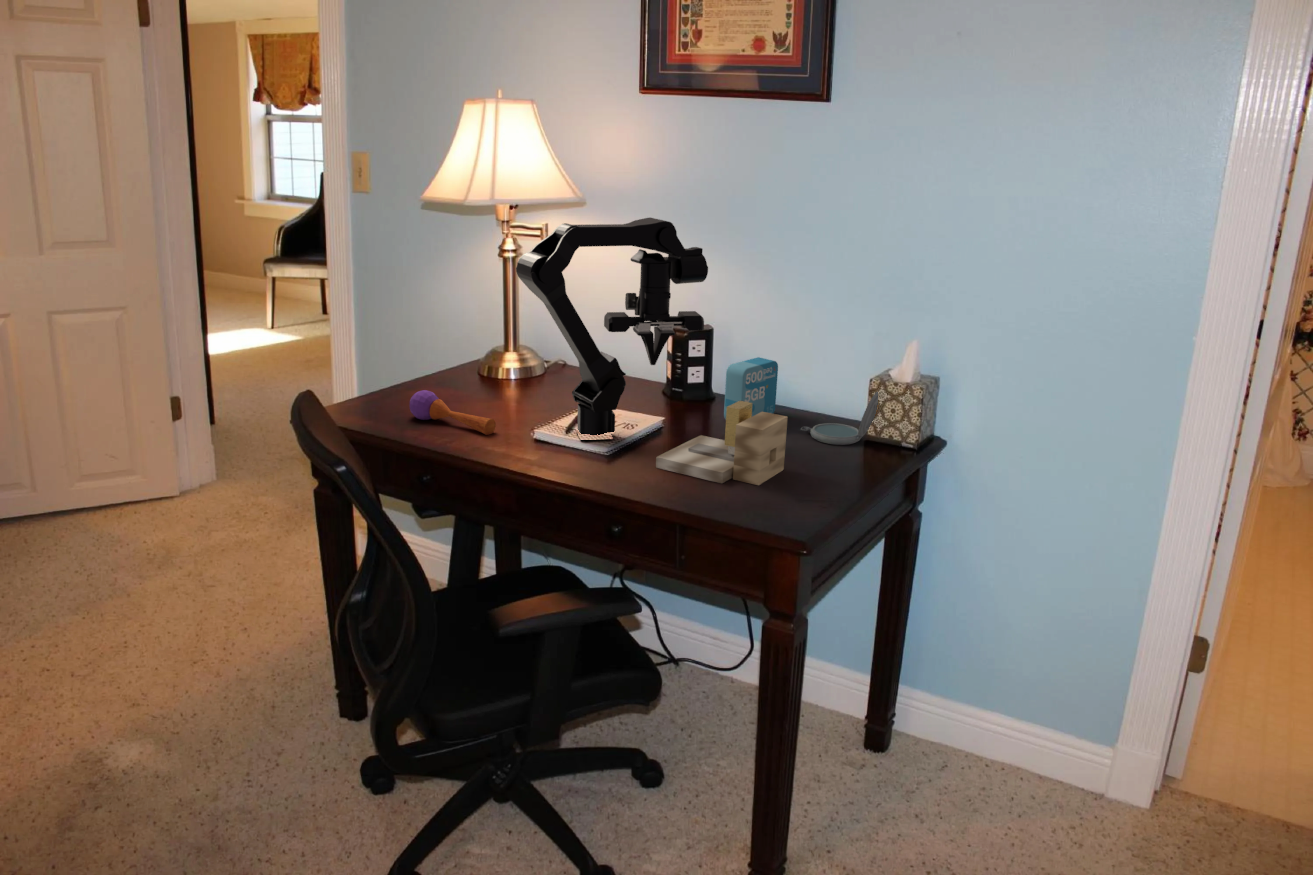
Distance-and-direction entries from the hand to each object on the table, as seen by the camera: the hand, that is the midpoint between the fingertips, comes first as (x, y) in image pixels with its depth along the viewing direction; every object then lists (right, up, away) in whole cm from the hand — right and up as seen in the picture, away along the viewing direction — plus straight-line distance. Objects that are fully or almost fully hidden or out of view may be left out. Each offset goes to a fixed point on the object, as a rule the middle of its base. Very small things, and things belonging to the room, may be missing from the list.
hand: (652, 364), depth 209 cm
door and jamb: (+13, -20, -16) cm, 29 cm away
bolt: (+17, -17, -20) cm, 31 cm away
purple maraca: (-40, -12, +2) cm, 42 cm away
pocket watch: (+36, -15, +2) cm, 39 cm away
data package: (+20, -10, +13) cm, 26 cm away
